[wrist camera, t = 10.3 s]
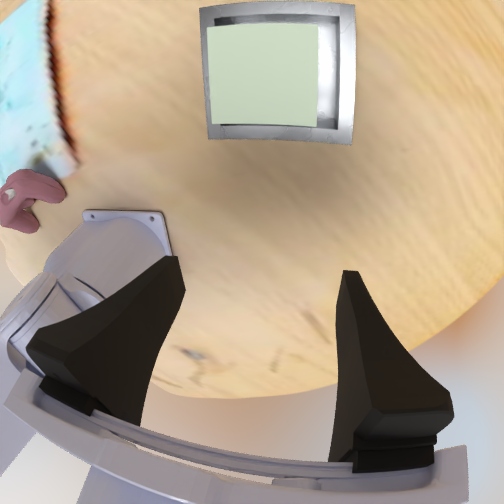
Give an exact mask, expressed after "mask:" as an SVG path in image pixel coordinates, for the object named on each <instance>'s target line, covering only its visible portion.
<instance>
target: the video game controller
mask: <svg viewBox="0 0 504 504" xmlns="http://www.w3.org/2000/svg"><path fill="white" fill-rule="evenodd" d="M34 198H35V199H39V200H42V201H45V202H48V203H60V202H62V201H63V200H64V198H65V191H64V189H63V187H62V186H61V185H60V184H59V183H58V182H57V181H55V180H54V179H53V178H51V177H49V176H46V175H43V174H40V173H36V172H34V171H33V170H31V169H19V170H17V171H16V172H14V173H13V174H11V175H10V176H9V177H8V178H7V180H6V183H5V184H4V185H3V186H2V188H1V189H0V224H1V226H2V227H6V228H12V229H15V230H18V231H21V232H24V233H27V234H30V233H35V232H36V231H37V230H38V228H39V223H38V221H37V219H36V218H35V217H34V216H33V215H31V214H30V213H29V212H27V211H25V210H23V209H25V208H28V207H30V206H32V205H33V204H34Z"/></svg>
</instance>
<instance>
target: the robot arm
mask: <svg viewBox="0 0 504 504" xmlns="http://www.w3.org/2000/svg"><path fill="white" fill-rule="evenodd" d="M93 215H94V216H93ZM151 216H152V217H154V219H153V218H152V217H151ZM82 217H83V220H84V222H83V223H82V224H81V225H80V226H79V227H78V228H76V229H75V230H74V231H73V232H72V233H71V234H70V235H69V236H68V237H67V238H66V239H65V240H64V241H63V242H62V243H61V244H60V245H59V246H58V247H57V248H56V249H55V250H54V251H53V252H52V253H51V254H50V256H49V257H48V259H47V261H46V263H45V266H44V270H43V272H41V273H40V274H38V275H37V276H36V277H35V278H33V279H32V280H31V281H30V282H29V283H28V284H27V285H26V286H25V287H24V288H23V289H22V290H21V291H20V293H19V294H18V295H17V296H16V297H15V298H14V300H13V301H12V302H11V303H10V305H9V306H8V307H7V308H6V310H5V311H4V313H3V314H2V316H1V317H0V476H1V475H2V474H3V473H4V471H5V470H6V469H7V468H8V466H9V465H10V464H11V463H12V461H13V460H14V459H15V458H16V457H17V455H18V454H19V453H20V451H21V450H22V449H23V448H24V447H25V446H26V444H27V443H28V442H29V441H30V440H31V438H32V437H33V436H34V435H35V434H36V432H38V433H39V434H41V435H42V436H44V437H45V438H47V439H48V440H49V441H51V442H53V443H54V444H56V445H57V446H59V447H60V448H62V449H64V450H65V451H67V452H69V453H70V454H72V455H74V456H76V457H77V458H79V459H81V460H83V461H85V462H86V463H88V464H90V465H92V466H91V468H90V471H89V473H88V476H87V478H86V481H85V483H84V486H83V488H82V491H81V493H80V496H79V498H78V501H77V504H465V503H467V502H468V495H469V492H468V463H467V449H466V445H461V446H456V447H451V448H445V449H441V450H438V451H435V452H434V445H435V444H436V443H437V435H436V434H437V433H439V432H440V431H441V430H443V429H444V428H445V427H446V426H448V424H450V423H451V421H452V420H453V418H454V411H453V404H452V400H451V397H450V392H449V391H448V390H447V389H446V388H444V387H443V386H442V385H441V384H439V383H438V382H437V381H436V380H435V379H434V378H433V377H431V376H430V375H429V374H428V373H427V372H426V371H425V370H424V369H423V368H422V367H421V366H420V365H419V364H418V363H417V362H416V360H415V359H414V358H413V357H412V356H411V355H410V354H409V353H408V352H407V350H406V349H405V348H404V347H403V345H402V344H401V343H400V341H399V340H398V339H397V337H396V336H395V335H394V333H393V332H392V330H391V329H390V328H389V326H388V325H387V323H386V321H385V320H384V318H383V317H382V315H381V313H380V312H379V310H378V308H377V306H376V305H375V303H374V301H373V299H372V298H371V296H370V294H369V292H368V290H367V288H366V286H365V284H364V282H363V280H362V278H361V276H360V274H359V272H358V271H348V270H343V274H342V280H341V285H340V290H339V295H338V299H337V304H336V341H337V357H338V389H337V401H336V410H335V419H334V427H333V434H332V441H331V447H330V453H329V458H328V462H312V461H299V460H287V459H277V458H270V457H262V456H255V455H249V454H243V453H237V452H232V451H226V450H222V449H217V448H212V447H208V446H203V445H199V444H195V443H191V442H188V441H184V440H180V439H176V438H173V437H170V436H166V435H163V434H160V433H157V432H154V431H151V430H148V429H145V428H142V427H140V423H141V418H142V411H143V407H144V402H145V398H146V393H147V389H148V385H149V382H150V378H151V375H152V371H153V368H154V365H155V362H156V359H157V356H158V353H159V351H160V349H161V346H162V344H163V342H164V340H165V338H166V336H167V334H168V332H169V330H170V328H171V326H172V324H173V322H174V320H175V317H176V315H177V313H178V311H179V309H180V306H181V303H182V300H183V297H184V294H185V291H186V289H185V285H184V281H183V277H182V273H181V269H180V265H179V261H178V257H177V256H172V252H171V248H170V244H169V239H168V235H167V230H166V226H165V221H164V217H163V215H162V214H161V213H160V212H142V211H101V210H85V211H84V212H83V213H82ZM124 439H125V440H124ZM126 440H127V441H126ZM128 441H130V442H133V443H135V444H138V445H140V446H143V447H146V448H149V449H152V450H154V451H158V452H160V453H164V454H167V455H170V456H174V457H177V458H180V459H183V460H187V461H191V462H195V463H198V464H202V465H207V466H211V467H215V468H220V469H224V470H229V471H235V472H240V473H246V474H252V475H259V476H266V477H274V478H275V479H273V480H272V484H265V483H260V482H254V481H249V480H245V479H240V478H236V477H231V476H227V475H223V474H219V473H215V472H211V471H208V470H204V469H200V468H197V467H193V466H190V465H187V464H184V463H180V462H177V461H173V460H170V459H167V458H164V457H161V456H158V455H154V454H152V453H149V452H146V451H143V450H141V449H138V448H137V447H136V446H135V445H134V444H132V443H130V442H128Z"/></svg>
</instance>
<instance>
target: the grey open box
mask: <svg viewBox="0 0 504 504" xmlns="http://www.w3.org/2000/svg"><path fill="white" fill-rule="evenodd" d="M199 13H200V32H201V50H202V65H203V80H204V93H205V106H206V118H207V130H208V139H267V140H292V141H309V142H323V143H334V144H344V145H352V133H353V118H354V100H355V70H356V29H355V5H350V4H341V3H331V2H316V1H258V2H244V3H233V4H224V5H216V6H209V7H203V8H199ZM259 23H295V24H315V25H318V102H317V126H316V127H311V126H297V125H278V124H212V118H211V102H210V85H209V66H208V43H207V27H216V26H226V25H239V24H259Z"/></svg>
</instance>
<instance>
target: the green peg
mask: <svg viewBox="0 0 504 504" xmlns="http://www.w3.org/2000/svg"><path fill="white" fill-rule="evenodd" d="M207 43H208V66H209V85H210V102H211V118H212V124H278V125H297V126H311V127H316V126H317V102H318V25H315V24H295V23H259V24H239V25H226V26H216V27H207Z"/></svg>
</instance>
